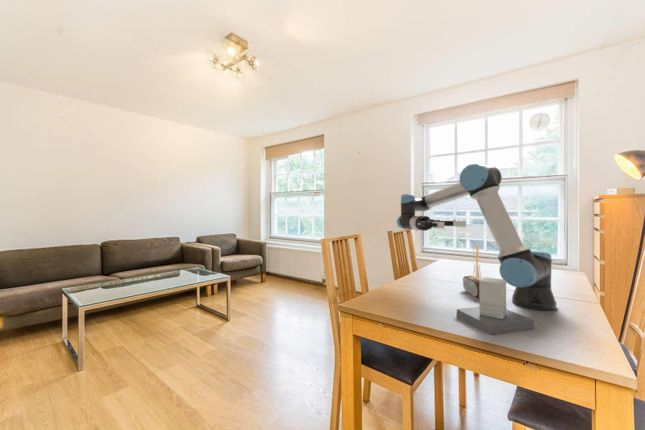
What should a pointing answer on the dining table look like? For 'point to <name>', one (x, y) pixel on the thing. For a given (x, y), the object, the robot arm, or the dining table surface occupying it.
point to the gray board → (495, 321)
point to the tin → (471, 286)
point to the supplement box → (492, 297)
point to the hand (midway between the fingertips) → (454, 224)
